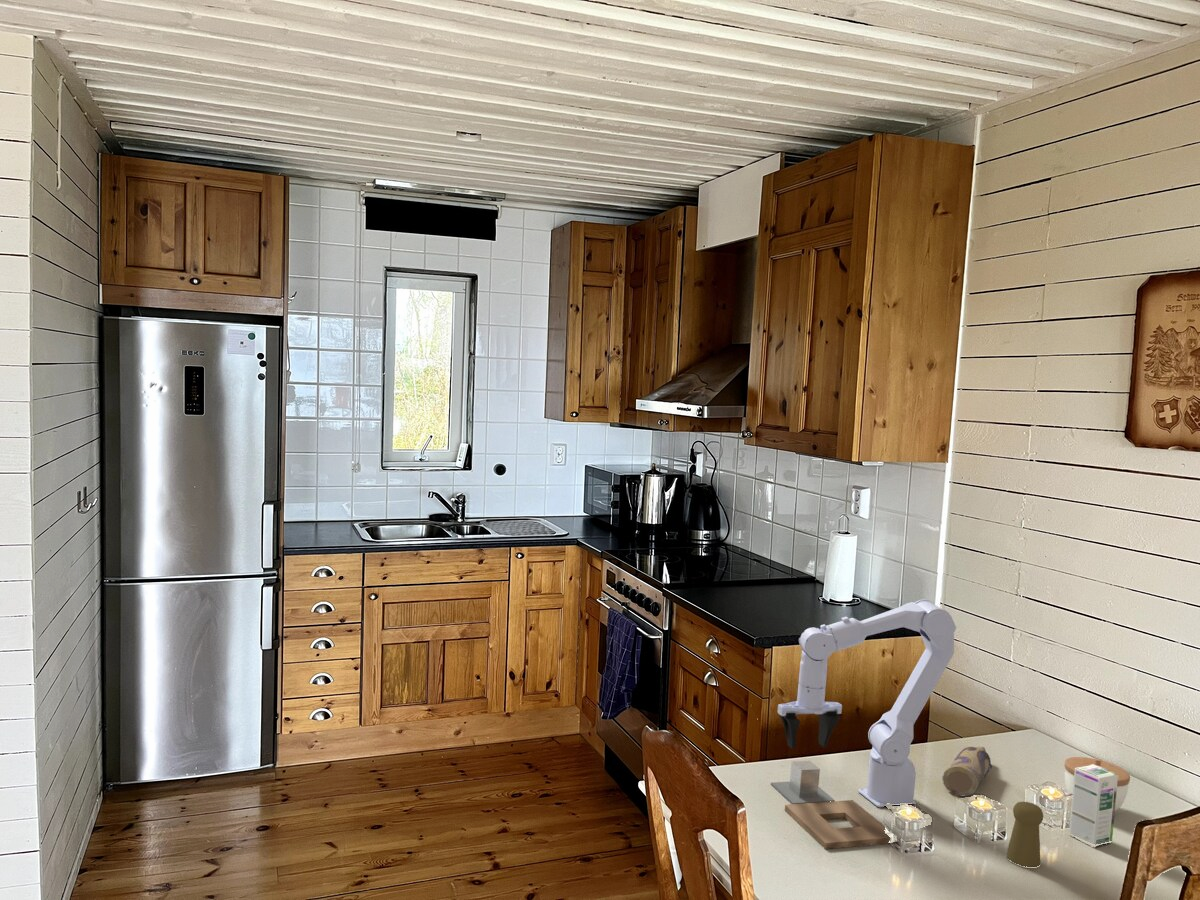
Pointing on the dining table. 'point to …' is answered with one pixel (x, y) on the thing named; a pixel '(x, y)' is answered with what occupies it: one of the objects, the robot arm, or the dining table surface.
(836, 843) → the walnut hole plate
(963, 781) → the decorative bottle
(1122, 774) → the lidded bowl
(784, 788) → the gray square plate
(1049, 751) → the dining table surface
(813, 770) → the steel plug
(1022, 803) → the olive pawn figure
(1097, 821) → the syrup box
